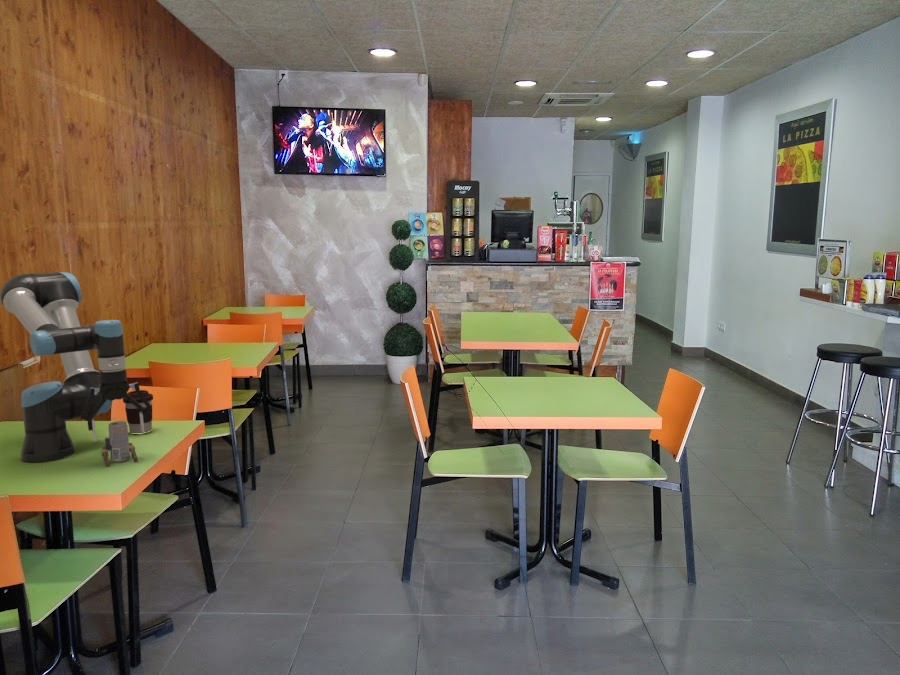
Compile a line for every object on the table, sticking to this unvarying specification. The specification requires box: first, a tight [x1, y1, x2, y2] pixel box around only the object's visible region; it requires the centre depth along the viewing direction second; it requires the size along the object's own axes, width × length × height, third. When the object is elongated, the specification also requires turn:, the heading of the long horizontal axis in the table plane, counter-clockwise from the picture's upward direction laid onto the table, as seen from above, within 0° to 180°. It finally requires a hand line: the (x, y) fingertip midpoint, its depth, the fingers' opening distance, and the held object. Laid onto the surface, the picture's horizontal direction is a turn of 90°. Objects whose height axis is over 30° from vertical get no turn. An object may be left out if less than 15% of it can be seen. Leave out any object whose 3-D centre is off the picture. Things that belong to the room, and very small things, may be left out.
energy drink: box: [108, 420, 131, 464], centre depth 219 cm, size 5×5×12 cm
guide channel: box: [101, 442, 139, 468], centre depth 224 cm, size 10×20×1 cm, turn 29°
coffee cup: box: [122, 389, 154, 433], centre depth 251 cm, size 10×10×15 cm
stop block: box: [104, 436, 111, 451], centre depth 233 cm, size 7×2×4 cm, turn 119°
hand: (119, 436), depth 219 cm, fingers open, 13 cm apart
